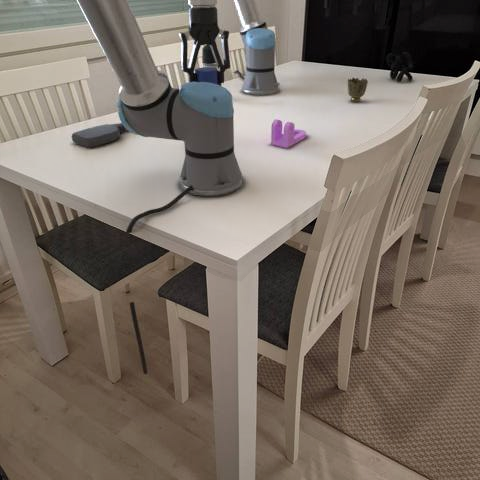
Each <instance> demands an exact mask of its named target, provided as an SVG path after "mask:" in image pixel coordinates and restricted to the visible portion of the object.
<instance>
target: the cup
mask: <svg viewBox="0 0 480 480" xmlns="http://www.w3.org/2000/svg"><path fill="white" fill-rule="evenodd" d="M368 82H369V79H367V78H365V77H362V78H361V79H359V77H356V78H355V77H352V78H347V93H348V96H349V97H350V101H351V102H354V103H359V102H360V101H361V98H363V96H365V94H366V92H367V91H366V90H367V87H368Z"/></svg>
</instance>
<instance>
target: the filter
mask: <svg viewBox="0 0 480 480" xmlns="http://www.w3.org/2000/svg"><path fill="white" fill-rule="evenodd" d="M201 50H202V51H201V52H202V54H201V55H202V57H201V58H202V61H201V63H202V68H203V67H212V68H216V69H217V70H218V67H217V64H216V62H215V59H214V56H213V53H212V50H211V47H210V46H209V45H207V44H205V45H203V46H202V49H201Z"/></svg>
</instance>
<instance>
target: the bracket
mask: <svg viewBox="0 0 480 480" xmlns="http://www.w3.org/2000/svg"><path fill="white" fill-rule="evenodd" d="M270 129H271V130H270V131H271V132H270V133H271V134H270V145H272V146H277V147H281V148H285V149H288V148H290V147H292V146H294V145H295V144H297V143H299V142H302V140H304V139H306V138H307V131H306V130H304V129H299V128H297V129H296V128H295V123H294V122H292V121H291V122H290V121H286V122H285V124H284V127H283V121H282V119H281V120H280V119H274V120H272V123H271V127H270Z"/></svg>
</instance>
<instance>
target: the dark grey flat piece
mask: <svg viewBox="0 0 480 480" xmlns="http://www.w3.org/2000/svg"><path fill="white" fill-rule="evenodd" d="M126 131H128V130H127V129H126V128H125V127H124V126H123V124H122V122H118V123H109V124H108V123H106V124H100V125H96V126H91V127H87V128H85V129H81V130H78V131H75V132H73V133H72V134H71V140H72V142H73V143H74V144H77V145H80V146H81V147H84V148H87V149H88V148H90V149H92V148H96V147H99V146H103V145H106V144H109V143H112V142H115V141H117V140H119V138H120V135H121V133H122V132H126Z"/></svg>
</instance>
